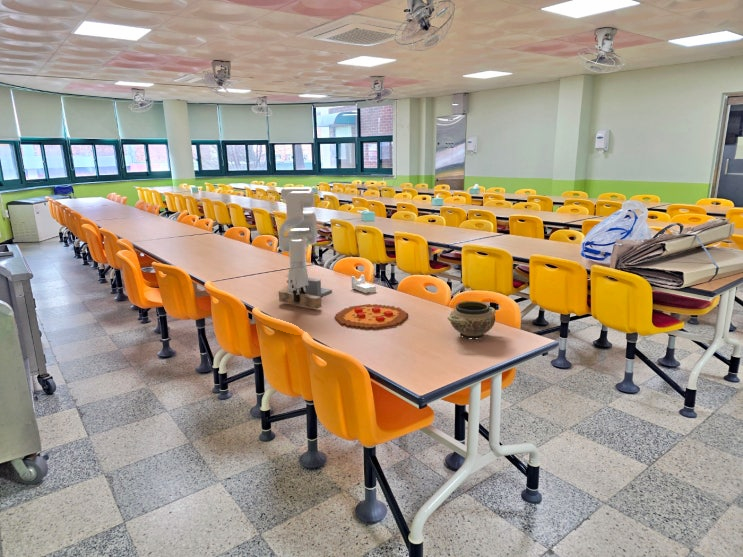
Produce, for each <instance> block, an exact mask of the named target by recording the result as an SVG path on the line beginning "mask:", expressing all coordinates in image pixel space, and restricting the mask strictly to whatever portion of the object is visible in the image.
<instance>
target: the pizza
mask: <svg viewBox="0 0 743 557" xmlns="http://www.w3.org/2000/svg"><path fill="white" fill-rule="evenodd" d="M407 318H408V319H409V313H408V312H406V311H405V310H404V309H402V308H400V307H395V305H391V306H390V305H387V304H386V305H385V304H384V305H382V304H377V303H375V304H370V303H368V304H361V305H353V306H352V305H351V306H349V307H344V309H341V310H340V311H339V312H337V313H335V316H334V320H336V321H337V323H339V325H341V326H342V327H343V326H345V327H346V328H352V329H357V328H358V329H360V330H365V331H367V329H368V330H373V331H376V330H375V329H377V330H381V329H382V328H384V329H388V328H387V327H390V328H394V327H393V326H399V325H398V324H401V325H402V324H404V322H406V320H408V319H407ZM403 321H404V322H403Z"/></svg>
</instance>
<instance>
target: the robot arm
mask: <svg viewBox="0 0 743 557" xmlns="http://www.w3.org/2000/svg"><path fill="white" fill-rule="evenodd" d="M280 196H281V199H282V200H283V201H284V203H285V206H286V208H285V209H286V219H285V220H284V221H283V222H282V223H281V225H280V226H279V230H278V247H279V251H281V252H283V253H286V252H288V256H289V268H288V272H287V274H286V275H285V276H286V278H287V280H288V283H287V284H288V291H291V292H292V293H293V294H294V302H298V303H299V302H300V297H299V294H298V293H303V294H305V292H306V288H307V286H308V285H309V283H308V277H309V273H308V269H307V253H306V251H307V249H308V248H309V245H315V244H316V243H317V241H318V226H317V225H318V224H317V216H316V213H315V212H314V211H310V210H305V211H304V209H306V208H310V209H311V208H313V207H314V206H315V203H316V199H315V191H314V189H313V188H312V187H311V186H302V187H301V186H298V187H297V186H295V187H293V186H292V187H291V186H289V187H283V188H282V189H281V190H280ZM285 235H286V236H285ZM299 288H300V292H299Z"/></svg>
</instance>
